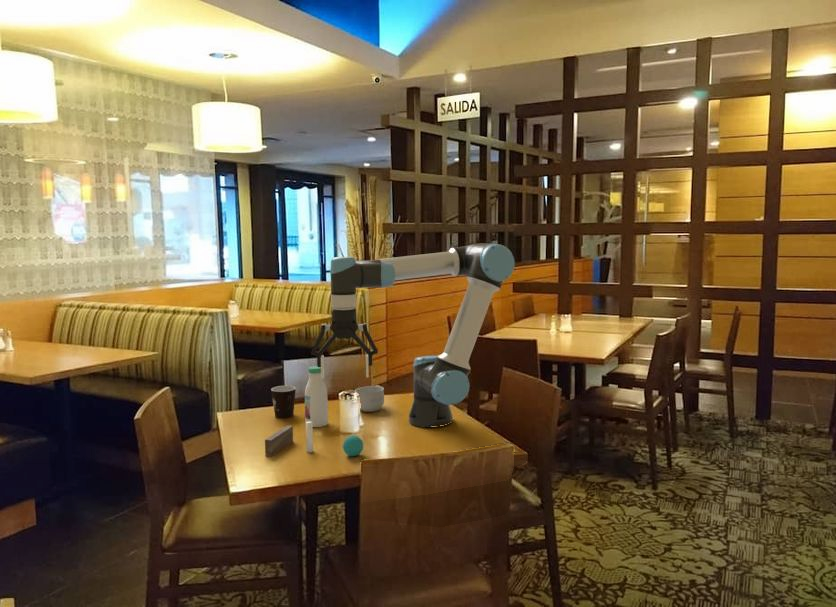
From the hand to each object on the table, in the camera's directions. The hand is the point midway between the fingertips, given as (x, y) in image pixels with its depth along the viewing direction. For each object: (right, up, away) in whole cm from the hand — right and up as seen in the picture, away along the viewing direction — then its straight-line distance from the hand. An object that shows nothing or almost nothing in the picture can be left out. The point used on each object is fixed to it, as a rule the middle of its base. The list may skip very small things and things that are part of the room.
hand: (345, 377), depth 195 cm
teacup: (+5, -17, +42) cm, 46 cm away
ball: (+3, -19, -7) cm, 21 cm away
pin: (-10, -22, -3) cm, 25 cm away
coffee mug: (-26, -18, +32) cm, 45 cm away
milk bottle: (-12, -19, +23) cm, 33 cm away
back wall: (-20, -22, 0) cm, 30 cm away
